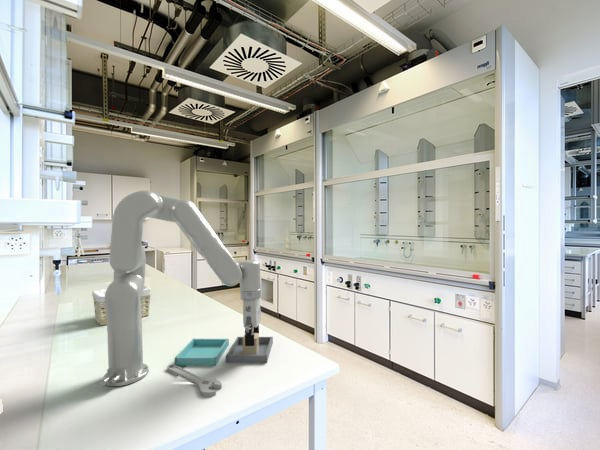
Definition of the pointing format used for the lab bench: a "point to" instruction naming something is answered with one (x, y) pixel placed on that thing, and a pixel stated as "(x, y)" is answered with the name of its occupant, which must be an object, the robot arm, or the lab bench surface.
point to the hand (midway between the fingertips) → (252, 339)
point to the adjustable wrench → (197, 380)
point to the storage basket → (101, 310)
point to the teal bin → (202, 352)
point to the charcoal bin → (262, 356)
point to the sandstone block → (251, 349)
